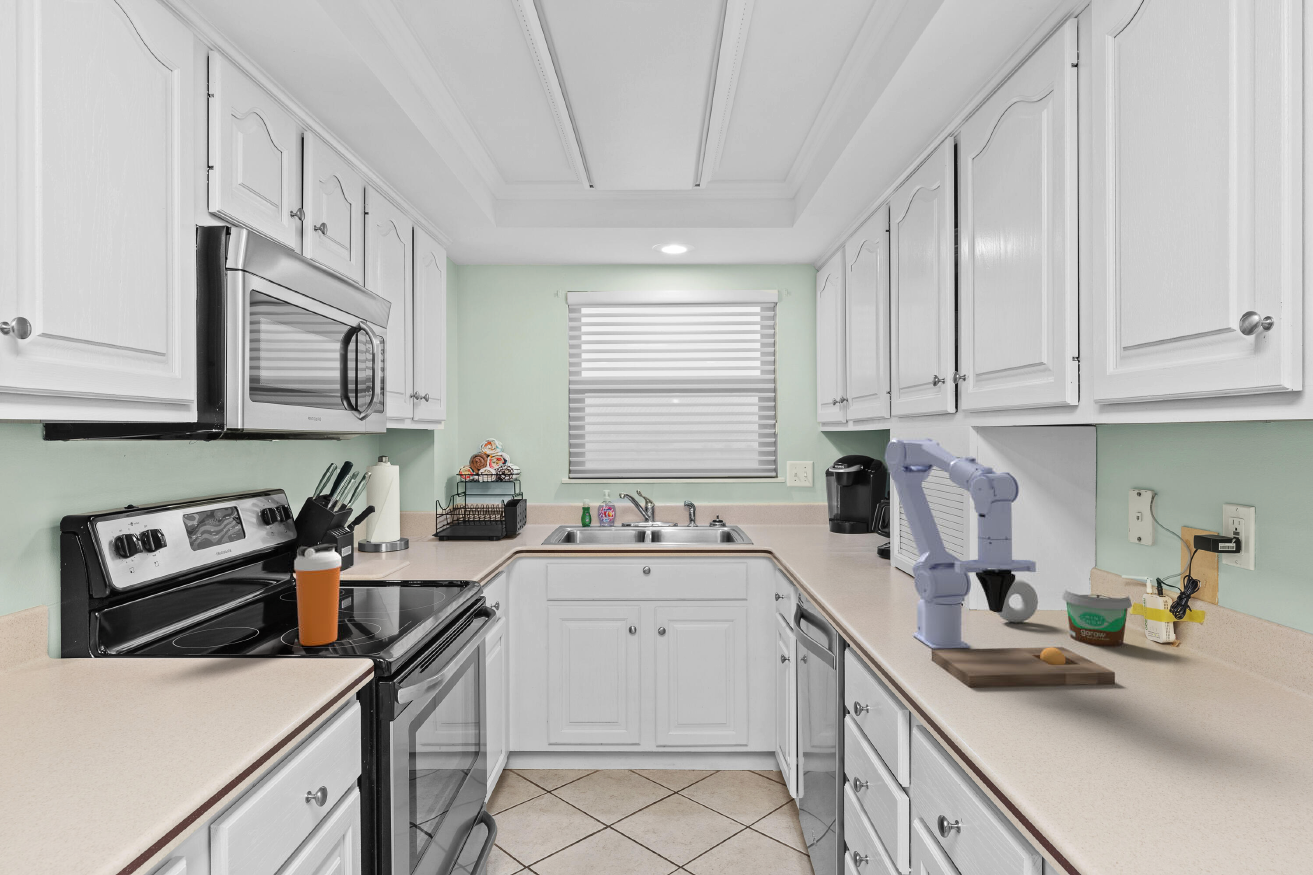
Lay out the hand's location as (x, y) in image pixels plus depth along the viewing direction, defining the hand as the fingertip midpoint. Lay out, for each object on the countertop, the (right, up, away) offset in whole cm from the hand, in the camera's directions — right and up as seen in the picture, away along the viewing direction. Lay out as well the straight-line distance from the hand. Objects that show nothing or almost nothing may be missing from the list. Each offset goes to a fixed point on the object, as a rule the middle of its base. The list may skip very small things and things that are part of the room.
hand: (995, 611), depth 127 cm
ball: (+10, -8, -1) cm, 13 cm away
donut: (+19, -10, +30) cm, 37 cm away
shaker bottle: (-134, -11, +17) cm, 136 cm away
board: (+3, -10, -2) cm, 11 cm away
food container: (+28, -11, +14) cm, 33 cm away
